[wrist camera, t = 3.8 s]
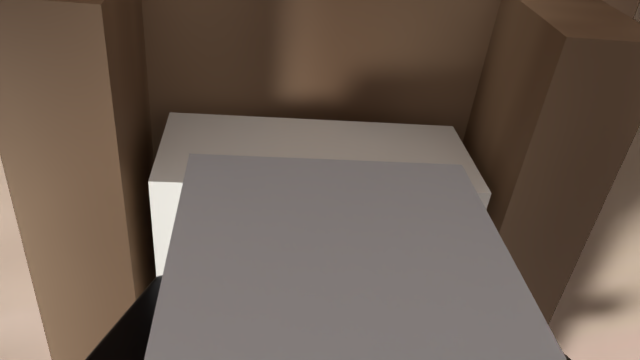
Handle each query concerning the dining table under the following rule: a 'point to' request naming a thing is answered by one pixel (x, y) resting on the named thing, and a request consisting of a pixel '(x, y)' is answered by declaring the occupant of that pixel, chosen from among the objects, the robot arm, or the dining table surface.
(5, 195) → the dining table surface
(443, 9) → the gauge bench
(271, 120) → the pale grey cube box
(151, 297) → the robot arm
